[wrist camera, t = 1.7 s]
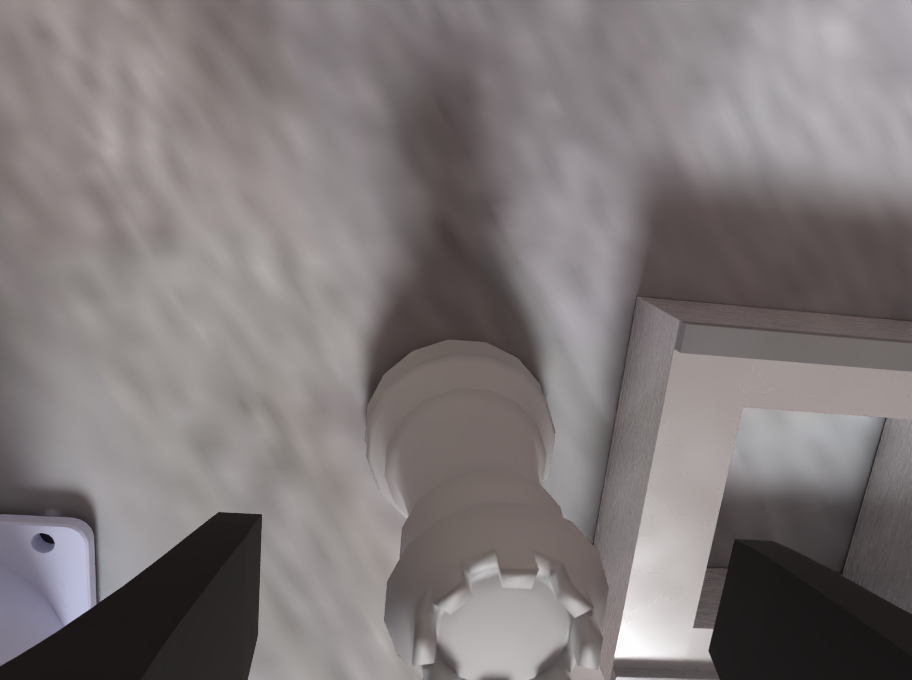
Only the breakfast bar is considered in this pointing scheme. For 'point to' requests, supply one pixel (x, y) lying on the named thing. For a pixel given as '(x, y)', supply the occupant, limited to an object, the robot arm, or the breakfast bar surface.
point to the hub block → (709, 455)
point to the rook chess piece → (480, 522)
